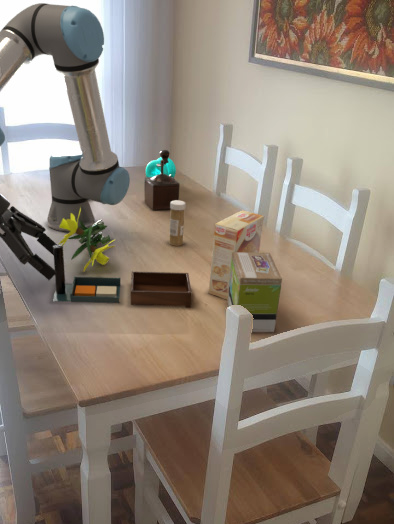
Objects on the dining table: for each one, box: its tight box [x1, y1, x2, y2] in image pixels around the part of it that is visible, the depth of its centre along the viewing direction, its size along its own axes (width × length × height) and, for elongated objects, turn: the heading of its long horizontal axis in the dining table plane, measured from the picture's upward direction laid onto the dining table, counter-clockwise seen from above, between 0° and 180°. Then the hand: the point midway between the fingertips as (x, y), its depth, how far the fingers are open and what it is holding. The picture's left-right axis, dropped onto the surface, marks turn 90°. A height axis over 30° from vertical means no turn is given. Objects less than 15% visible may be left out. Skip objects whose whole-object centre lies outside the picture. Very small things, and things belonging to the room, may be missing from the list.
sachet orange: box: [75, 286, 96, 296], centre depth 147 cm, size 4×5×1 cm
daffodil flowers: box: [58, 206, 116, 273], centre depth 163 cm, size 17×15×35 cm
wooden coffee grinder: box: [143, 149, 180, 211], centre depth 210 cm, size 16×11×18 cm
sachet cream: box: [96, 286, 117, 297], centre depth 148 cm, size 4×5×1 cm
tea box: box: [227, 252, 283, 333], centre depth 139 cm, size 15×10×15 cm, turn 5°
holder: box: [130, 271, 193, 308], centre depth 149 cm, size 12×15×4 cm
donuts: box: [145, 156, 177, 179], centre depth 234 cm, size 10×10×10 cm
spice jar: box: [168, 199, 186, 247], centre depth 178 cm, size 5×5×14 cm
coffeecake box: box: [208, 209, 265, 301], centre depth 152 cm, size 15×7×20 cm, turn 148°
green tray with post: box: [52, 243, 121, 304], centre depth 144 cm, size 10×16×13 cm, turn 95°
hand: (56, 264), depth 143 cm, fingers open, 13 cm apart
